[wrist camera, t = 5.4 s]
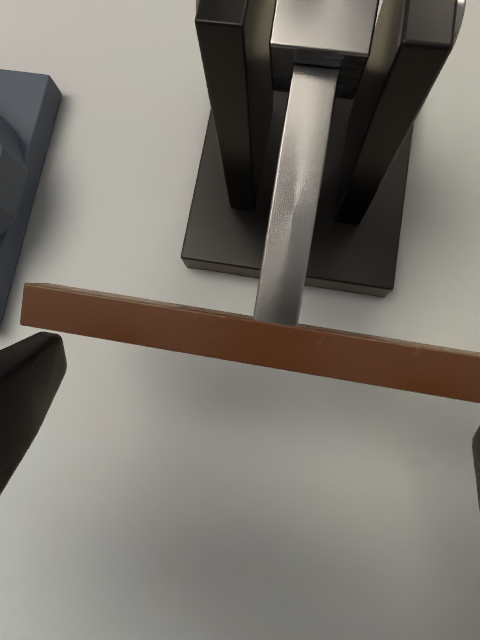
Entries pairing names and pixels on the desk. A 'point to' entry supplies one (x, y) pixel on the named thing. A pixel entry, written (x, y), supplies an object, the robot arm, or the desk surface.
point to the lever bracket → (342, 151)
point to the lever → (279, 241)
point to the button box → (21, 158)
